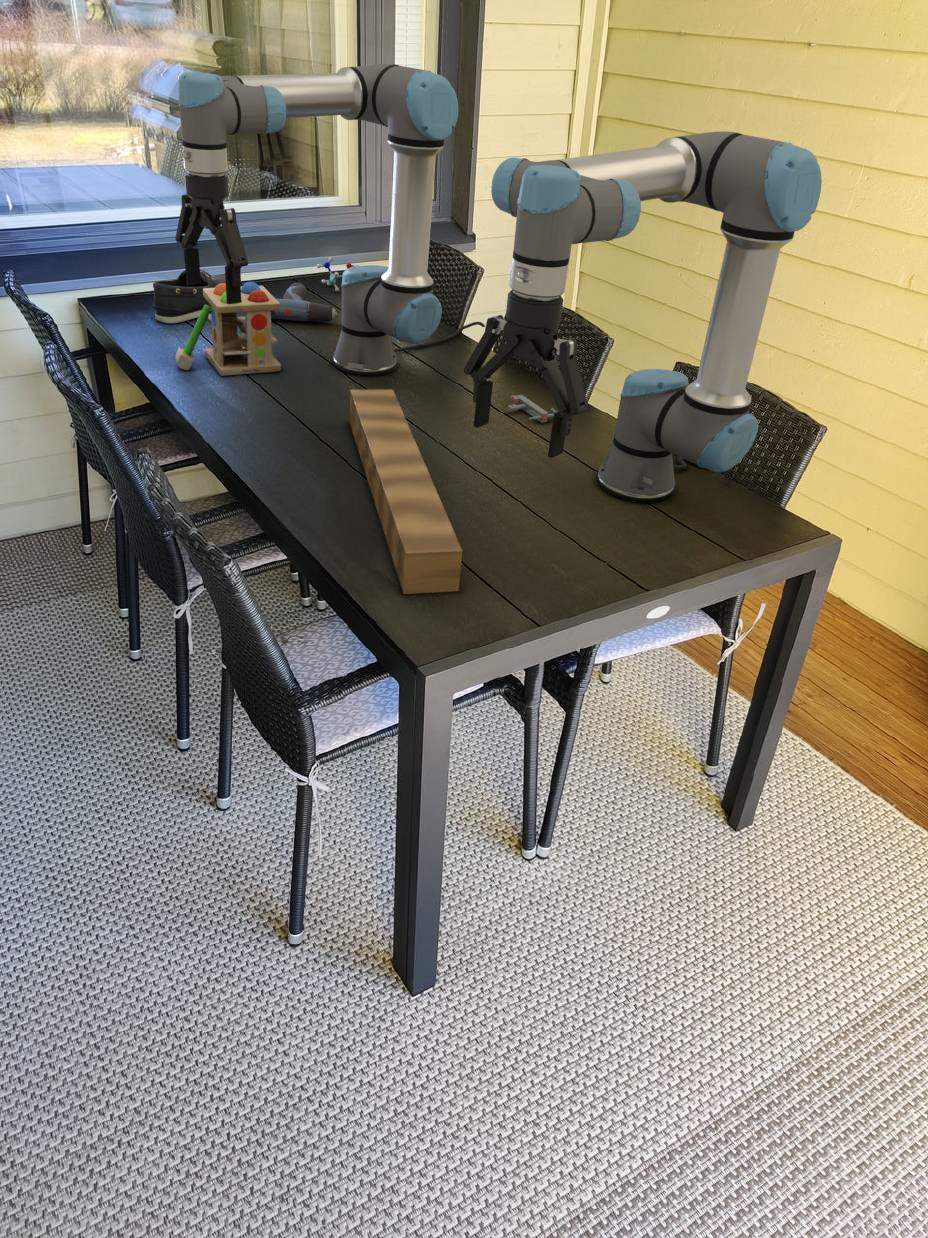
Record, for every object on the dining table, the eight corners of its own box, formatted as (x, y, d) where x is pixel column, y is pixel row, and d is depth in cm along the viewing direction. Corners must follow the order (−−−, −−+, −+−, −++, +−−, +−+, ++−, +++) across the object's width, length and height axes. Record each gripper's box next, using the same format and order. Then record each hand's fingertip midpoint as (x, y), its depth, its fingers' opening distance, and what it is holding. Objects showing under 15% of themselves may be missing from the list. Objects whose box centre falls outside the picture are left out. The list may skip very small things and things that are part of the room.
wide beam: (349, 423, 209) (350, 389, 205) (391, 422, 211) (392, 389, 207) (403, 594, 155) (405, 553, 151) (458, 591, 158) (462, 550, 153)
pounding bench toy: (183, 379, 220) (176, 299, 210) (169, 357, 231) (162, 280, 221) (282, 371, 230) (280, 294, 220) (264, 350, 240) (262, 276, 230)
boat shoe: (261, 302, 273) (259, 263, 267) (172, 325, 249) (168, 283, 243) (227, 293, 278) (225, 255, 273) (137, 316, 254) (132, 274, 249)
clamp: (499, 396, 222) (536, 391, 226) (498, 406, 223) (534, 400, 228) (535, 422, 211) (573, 416, 216) (534, 432, 213) (571, 425, 217)
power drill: (344, 304, 276) (335, 327, 259) (277, 298, 275) (264, 321, 258) (344, 285, 273) (335, 306, 256) (277, 279, 272) (264, 300, 255)
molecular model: (349, 283, 280) (337, 248, 279) (321, 295, 284) (310, 261, 283) (366, 286, 291) (354, 252, 289) (339, 298, 294) (328, 265, 293)
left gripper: (150, 160, 179) (160, 278, 191) (228, 188, 165) (234, 314, 177) (186, 157, 183) (194, 273, 195) (265, 184, 170) (268, 307, 182)
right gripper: (447, 274, 135) (436, 419, 147) (599, 322, 123) (573, 475, 135) (481, 266, 140) (467, 407, 152) (629, 311, 128) (602, 460, 140)
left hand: (213, 293), depth 186 cm, fingers open, 13 cm apart
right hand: (517, 439), depth 143 cm, fingers open, 13 cm apart
